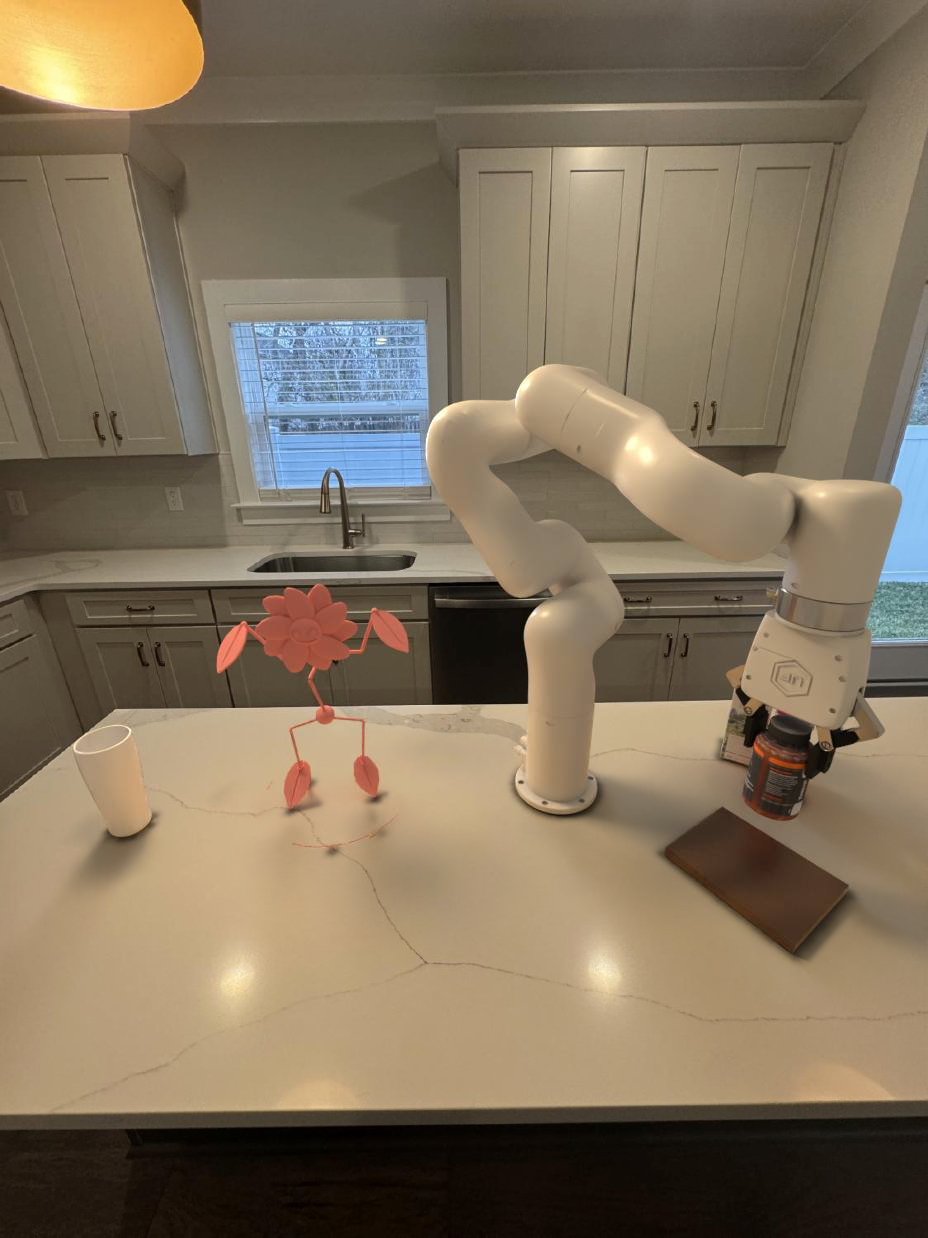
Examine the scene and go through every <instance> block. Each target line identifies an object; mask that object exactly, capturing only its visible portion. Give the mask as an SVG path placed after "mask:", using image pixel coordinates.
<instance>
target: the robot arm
mask: <svg viewBox="0 0 928 1238" xmlns="http://www.w3.org/2000/svg"><path fill="white" fill-rule="evenodd" d="M554 449H555V450H556V451H558V452H560V453H561V454H563V455H565V456H567V457H568V458H570V459H572V460H574V461H575V462H577V463H579V464H581V466H584V467H586V468H587V469H589V470H591V471H593V472H594V473H596V474H598V476H601V477H602V478H604V479H605V480H608V481H609V482H611V483H612V484H613V485H614V486H615V487H616V488H617V489H618V491H619V492H620V493H621V494H622V495H623V496H624V498H626V499H627V500H628V501H629V502H630V503H631V504H632V505H633V506H634V507H635V508H636V509H637V510H638V511H639V512H640V513H641V514H643V515H644V516H645V517H646V518H648V519H649V520H650V521H652V522H653V523H654V524H656V525H657V526H659V527H660V528H662V529H663V530H665V531H666V532H668V533H670V534H672V535H673V536H675V537H677V538H679V539H680V540H682V541H684V542H686V543H687V544H688V545H691V546H692V547H694V548H696V549H697V550H699V551H701V552H703V553H705V554H707V555H709V556H711V557H713V558H716V559H719V560H722V561H725V562H731V563H746V562H751V561H754V560H758V559H760V558H762V557H765V556H766V555H768V554H769V553H770V552H772V551H774V549H776V547H777V546H779V545H787V546H788V548H789V550H788V556H787V559H786V563H785V567H784V573H783V577H782V582H781V584H779V585H773V584H769V585H768V587H767V588H766V591H765V596H766V597H767V598H771V599H772V600H774V601H775V603H774V608H772V609H769V610H767V611H766V612H765V614H764V616H763V618H762V621H761V622H760V624H759V627H758V629H757V631H756V633H755V636H754V639H753V641H752V644H751V647H750V649H749V652H748V654H747V655H748V656H747V659H746V662H745V663H742V664H741V665H739V666H737V667H733V668H731V669H730V670H728V671H727V672H726V673H725V676H726V678H727V680H728V681H729V683H730V685H731V686H732V688H733V689H734V688H735V692H736V695H737V696H738V698H739V700H740V701H741V703H742V704H743V706H744V708H743V712H744V713H745V714H746V715H747V716H746V720H745V725H744V729H743V734H744V735H745V739H744V744H743V745H744V746H745V747H747V748H749V747H750V748H751V747H753V746H754V742H755V738H756V736H757V734H758V733H759V732H760V731H762V730H764V729H766V725H767V721H768V717H769V713H768V710H766V708H765V707H766V706H769V707H772V708H773V709H775V711H776V710H779V711H781V712H783V713H786V714H788V715H790V716H793V717H795V718H797V719H800V720H802V721H805V722H807V723H809V724H812V725H814V726H815V728H816V729H815V730H816V733H817V740H818V741H817V742H816V743H815V744H813V745H814V746H813V747H812V748H811V752H810V755H809V759H808V762H807V766H806V769H805V773H804V775H805V777H807V778H809V780H813V779H814V778H815V777H817V776H818V775H819V774H821V773H822V774H823V775H824V774H826V773H827V772H828V771H829V770H830V768H831V766H832V763H833V760H834V757H835V754H836V750H837V749H839V748H843V747H844V748H845V747H848V746H852V745H854V744H857V743H863V742H867V741H871V740H872V741H873V740H876V739H879V738H881V736H883V735H884V734H885V733H886V729H885V727H884V725H883V724H882V722H881V721H880V719H879V718H878V717H877V714H876V713H875V712H874V710H873V709H872V707H871V705H870V704H869V703H868V701H867V700H866V698H865V697H864V696H865V691H866V687H867V681H868V677H869V671H870V664H871V655H872V640H873V639H872V630H871V629H870V628H867V627H866V625H867V623H868V618H869V615H870V612H871V610H872V609H871V608H872V605H873V602H874V599H875V596H876V593H877V589H878V586H879V582H880V579H881V576H882V572H883V569H884V566H885V562H886V559H887V555H888V552H889V550H890V549H889V548H890V546H891V543H892V539H893V536H894V532H895V529H896V526H897V523H898V520H899V516H900V512H901V508H902V506H903V505H902V504H903V495H902V492H901V490H900V489H899V488H898V487H897V486H896V485H893V484H890V483H886V482H883V481H882V482H880V481H875V480H867V479H866V480H865V479H848V478H847V479H843V478H842V479H841V478H839V479H825V480H818V479H811V478H810V479H809V478H805V477H804V478H803V477H797V476H791V475H787V474H781V473H774V472H756V473H750V474H747V475H744V476H742V475H741V474H738V473H736V472H733V471H731V470H730V469H728V468H726V467H724V466H722V465H720V464H718V463H716V462H715V461H713V460H710V459H709V458H708V457H705V456H704V455H702V454H700V453H699V452H696V451H695V450H694V449H692V448H691V447H689V446H687V445H686V444H685V443H683V442H682V441H681V440H680V439H678V438H677V437H676V436H675V435H674V434H673V433H672V432H671V430H670V427H669V426H668V423H667V422H666V420H665V418H664V417H663V416H662V414H660V413H659V412H658V411H657V410H655V409H653V408H651V407H649V406H647V405H645V404H643V403H641V402H640V401H637V400H636V399H633V398H631V397H628V396H626V395H624V394H623V393H621V392H619V391H617V390H615V389H613V388H611V387H610V384H609V382H608V381H607V380H606V379H605V377H604V376H603V375H601V374H600V373H599V372H597V371H596V370H594V369H591V368H589V367H584V366H578V365H577V366H576V365H568V364H561V363H550V364H545V365H541V366H540V367H537V368H535V369H534V370H532V371H531V372H530V373H528V374H527V375H526V377H525V378H524V379H523V380H522V382H521V383H520V385H519V387H518V389H517V392H516V395H515V398H512V399H508V400H499V399H497V400H495V399H493V400H492V399H467V400H462V401H459V402H454V403H451V404H450V405H447V406H445V407H444V408H442V409H441V410H440V411H439V412H438V413H437V414H435V416H434V417H433V419H432V421H431V423H430V425H429V428H428V431H427V435H426V439H425V461H426V466H427V470H428V474H429V476H430V479H431V482H432V484H433V486H434V488H435V489H436V492H437V493H438V494H439V496H440V498H441V499H442V501H443V502H444V503H445V505H446V506H447V507H448V508H449V509H450V511H451V512H452V514H453V515H454V516H455V517H456V519H457V520H458V521H459V523H460V524H461V526H462V527H463V529H464V530H465V532H466V533H467V535H468V537H469V538H470V540H471V542H472V543H473V545H474V547H475V548H476V550H477V552H478V553H479V554H480V556H481V557H482V559H483V560H484V562H485V564H486V565H487V567H488V569H489V570H490V571H491V573H492V575H493V576H494V578H495V580H496V581H497V582H498V584H499V585H500V587H502V589H503V590H504V591H505V592H506V593H507V594H509V595H511V596H512V597H515V598H518V599H519V598H520V599H522V598H528V597H532V596H535V595H537V594H540V593H542V592H544V591H545V590H547V589H548V591H549V592H550V593H551V595H552V596H550V597H549V598H547V599H545V600H544V601H543V602H541V603H540V604H539V605H537V606H536V608H535V609H534V610H533V611H532V612H531V613H530V615H529V616H528V618H527V620H526V622H525V625H524V630H523V642H524V649H525V655H526V661H527V673H528V676H527V677H528V680H527V681H528V685H527V686H528V689H527V718H526V719H527V720H526V721H527V725H526V734H523V735H522V736H521V737H520V740H519V743H520V744H516V745H515V746H514V749H513V751H514V752H515V753H516V754H517V755H518V756H520V757H521V765H520V766H519V768H518V769H517V771H516V773H515V779H514V780H515V782H514V783H515V789H516V791H517V794H518V795H519V797H520V798H521V800H523V801H524V802H525V803H526V804H528V805H529V806H531V807H532V808H534V809H535V810H536V809H537V810H538V811H540V812H544V813H547V814H553V815H571V814H575V813H579V812H582V811H583V810H585V809H588V808H589V807H591V805H592V804H594V803H593V802H594V801H595V800H596V798H597V794H598V782H597V778H596V777H595V775H594V773H593V772H592V771H591V770H590V769H589V767H590V759H591V758H590V757H591V749H592V738H593V737H592V736H593V726H594V725H593V724H594V716H595V706H596V705H595V701H596V687H597V685H596V675H595V672H594V666H593V664H594V656H595V653H597V650H599V649H600V648H602V646H603V645H604V644H605V643H606V642H607V641H608V640H609V639H611V638H612V637H613V636H614V635H615V634H616V633H617V632H618V631H619V629H620V628H621V626H622V624H623V622H624V619H625V605H624V600H623V597H622V596H621V593H620V591H619V589H618V588H617V586H616V584H615V583H614V581H613V580H612V578H611V577H610V575H609V574H608V572H607V571H606V570H605V567H603V565H602V563H601V561H600V560H599V558H598V557H597V556H596V554H595V553H594V551H593V549H592V548H591V546H590V545H589V544H588V542H587V540H585V538H584V537H583V535H582V534H581V533H580V531H578V530H577V529H576V528H574V526H572V525H571V524H569V523H567V522H565V521H563V520H560V519H554V518H553V519H552V518H550V519H541V520H539V521H535V520H534V519H533V518H532V517H531V516H530V515H529V513H528V511H527V510H526V509H525V507H524V506H523V504H522V503H521V502H520V500H519V498H518V496H517V495H516V494H515V492H514V491H513V490H512V489H511V488H510V487H509V486H508V485H507V484H506V483H505V482H504V481H503V480H502V479H500V478H499V477H498V476H496V474H495V473H493V471H492V469H490V466H495V465H496V466H497V465H502V464H509V463H513V462H514V463H515V462H518V461H523V460H526V459H528V458H531V457H534V456H537V455H540V454H543V453H546V452H548V451H551V450H554ZM849 718H854V719H855V721H856V722H857V723H858V726H857V727H850V728H846V729H844V725H845V724H846V723H847V721H848V719H849Z"/></svg>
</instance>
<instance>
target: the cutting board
mask: <svg viewBox="0 0 928 1238" xmlns="http://www.w3.org/2000/svg"><path fill="white" fill-rule="evenodd" d="M664 856H665V857H666V858H667V859H668V860H670V861H671V862H673V863H674V864H675V865H676V866H678V867H679V868H680V869H682V871H684V872H685V873H687V874H688V875H689V876H691V877H692V878H694V880H696V882H698V883H699V884H701V885H702V886H703V887H705V888H706V889H707V890H709V891H710V892H711V893H713V894H714V895H715V896H716V897H718V898H719V899H720V900H722V901H723V902H724V903H725V904H727V905H728V906H729V907H731V908H732V909H733V910H735V911H736V912H737V913H738V914H740V915H741V916H742V917H743V918H744V919H746V920H747V921H749V922H750V923H752V925H754V926H755V927H757V928H758V929H759V930H761V931H762V932H763V933H764V934H766V935H767V936H768V937H769V938H771V939H772V940H773V941H775V942H776V943H777V944H778V945H780V946H781V947H782V948H784V949H785V950H786V951H787V952H789V953H790V954H794V952H796V950H798V948H799V947H800V946H801V945H802V944H803V942H805V940H806V939H807V938H808V937H809V936H810V935H811V934H812V932H813V931H814V930H815V929H816V928H817V927H818V926H819V925H820V923H821V922H822V921H823V920H824V919H825V918H826V917H827V916H828V915H829V913H830V912H831V911H832V910H833V909H834V908H835V907H836V906H837V905H838V904H839V902H840V901H841V900H842V899H843V898H844V897H845V896H846V894H847V892H848V889H849V887H850V885H849V884H848V883H846V882H845V881H843V880H841V879H840V878H838V877H837V876H835V875H833V874H832V873H830V872H829V871H827V870H825V869H824V868H823V867H820V866H819V865H817V864H816V863H814V862H812V861H811V860H809V859H807V858H806V857H805V856H803V855H801V854H800V853H798V852H796V851H795V850H793V849H792V848H790V847H788V846H787V845H785V844H784V843H782V842H781V841H779V840H777V839H776V838H774V837H772V836H770V835H769V834H768V833H766V832H765V831H763V830H762V829H759V827H756V826H755V825H753V824H752V823H749V822H748V821H747V820H745V819H743V818H742V817H741V816H739V815H737V814H736V813H734V812H732V811H731V810H729V809H728V808H726V807H724V806H721V807H719V808H718V809H717V810H715V811H713V813H711V814H709V815H708V816H707V817H705V818H704V819H703V820H701V821H700V822H699V823H698V824H696V825H695V826H693V827H691V828H690V829H688V830H687V831H686V832H685V833H683V834H682V835H680V836H679V837H678V838H676V839H675V840H673V841H672V842H670V843H669V844H668V845H667V846H665V850H664Z"/></svg>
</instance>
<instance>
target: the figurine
mask: <svg viewBox="0 0 928 1238" xmlns="http://www.w3.org/2000/svg"><path fill="white" fill-rule="evenodd" d="M262 607H263V608H264V609H265V610H266V612H267V613H268V614H269V615H270V616H268V617H267V618H265V619H262V620H261V621H260V622H259V623H258V624H256V626H255V628H254V629H252V627H250V626H249V625H248V622H247V621H244V620H243V621H241V622H240V624H238V625H236V626H233V628H231V630H230V631H229V632H228V633H227V634H226V635H225V637H224V638H223V640H222V642H221V644H220V645H219V649H218V651H217V655H216V673H217V674H218V675H219V674H221V673H222V672H224V671H225V670H226V669H227V668H230V666H231V665H232V664H233V663H234V662H236V661H237V659H238V658H239V657H240V655H241V654H242V652H243V650H244V647H245V645H246V643H247V638H248V633H250V634H251V636H252V637H254V638H255V639H256V640H258V641H259V642H260V643H261V644H262V645H263V651H264V654H265V655H266V656H269V657H277V658H278V659H279V660H280V661H281V662H283V664H284V667H286V669H287V670H288V671H289V672H290V673H291V674H294V673H295V674H296V673H300V672H301V671H303V670H304V668H305V666H306V663H307V664H308V665H310V666H311V667H312V669H311V671H310V673H309V675H308V677H307V679H308V681H307V683H308V685H309V687H310V689H311V691H312V692H313V695H314V697H315V699H316V700H317V702H318V704H319V707H318V708H317V709H316V711H315V718H313V719H310V720H307V721H304V722H301V723H298V724H296V725H293V726H289V729H288V730H289V734H290V738H291V742H292V746H293V751H294V754H295V758H296V762H294V764H293V765H292V766H291V767H290V769H289V770H288V772H287V773H286V776H285V779H284V785H283V794H284V797H285V802H286V805H287V807H288V809H289V810H291V809H293V808H294V807H295V806H296V805H297V804H298V803H300V802H301V800H302V799H304V797H306V794H307V793H308V790H309V789H310V785H311V780H312V771H311V766H310V764H309V763H308V762H307V760H303V759H300V755H299V751H298V747H297V743H296V740H295V736H294V731H293V730H294V729H296V728H300V727H302V726H305V725H309V724H311V723H314V722H317V723H319V724H321V725H330V724H331V723H332V722H333V721H334V720H337V721H338V720H339V721H353V722H361V755H360V756H357V757H356V758H355V760H354V762H353V778H354V780H355V783H356V784H357V786H358V787H359V788H360V790H363V791H364V792H365V793H367V794H368V795H369V796H372V797H373V798H376V797H377V795H378V791H379V785H380V774H379V769H378V767H377V764H376V763H375V762H374V760H372V759H371V758H370V757H369V756H368V755H365V734H366V733H365V732H366V731H365V730H366V729H365V727H366V725H365V724H366V721H365V719H364V718H355V717H345V716H344V717H343V716H336V714H335V713H336V712H335V710H334V708H333V707H332V706H331V705H325V704H324V703H323V700H322V698H321V696H320V694H319V692H318V690H317V688H316V686H315V684H314V681H313V679H314V676H315V673H316V671H317V670H320V671H327V670H329V668H331V664H332V661H339V660H345V659H347V658H349V657H350V655H351V654H357V655H358V654H360V655H361V654H363V652H365V648H366V646H367V643H368V640H369V637H370V636H369V635H370V633H371V631H372V627H373V631H374V632H375V634H376V635H377V637H378V638H379V640H380V641H382V642H383V643H384V644H385V645H386V646H387V647H388V648H391V649H394V650H396V651H399V652H401V653H405V654H409V639H408V634H407V632H406V631H407V630H406V629H405V627H404V625H403V623H402V622H401V621H400V619H398V618H397V616H395V615H394V614H392V613H391V612H390V613H389V612H388V611H387V610H385V609H384V610H383V609H378V608H377V607H372V608H371V610H370V611H371V615H370V617H369V621H368V624H367V627H366V630H365V633H364V637H363V640H362V643H361V646H360V649H350V648H349V646H348V645H347V644H345V643H344V641H346V640H348V639H350V638H352V637H354V635H356V633H357V632H358V629H359V626H358V625H357V623H356V622H354V621H352V620H348V619H347V615H348V607H347V604H346V603H345V602H343V601H338V602H334V603H333V600H332V595H331V592H330V591H329V589H328V588H327V586H325V585H324V584H322V583H317V584H315V585H314V586H313V587H312V588H311V589H310V590H309V592H308V593H307V594H306V593H304V592H303V591H301V590H299V589H296V588H294V587H286V588H285V589H284V590H283V596H282V595H269V596H266V597H265V598H263V599H262ZM264 638H265V639H264ZM272 783H273V781H271V782H270V784H269V785H268V786H267V788H266V789H267V790H268V789H269V788H270V786H271V784H272ZM397 816H398V814H395V816H394V817H393V818H392V819H390V820H389V822H387V823H386V824H384V825H383V826H381V827H380V828H379V829H377V830H375V831H373V832H371V833H370V834H368V835H365V836H362V837H360V838H358V839H355V840H351V841H348V842H345V843H340V844H334V845H324V846H320V848H328V851H330V850H334V849H336V847H337V849H339V848H340V847H338V846H343V845H347V844H350V843H354V842H357V841H360V840H362V839H364V838H367V837H369V836H370V837H369V839H371V838H372V837H374V836H376V835H377V832H379V831H380V830H382V829H383V828H384V827H386V826H387V825H389V824H390V823H391V822H392V821H393V820H394V819H395V818H396V817H397ZM371 835H372V836H371ZM292 845H296V846H299V847H305V848H318V846H315V845H314V846H312V845H302V844H298V843H294V842H292Z"/></svg>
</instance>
